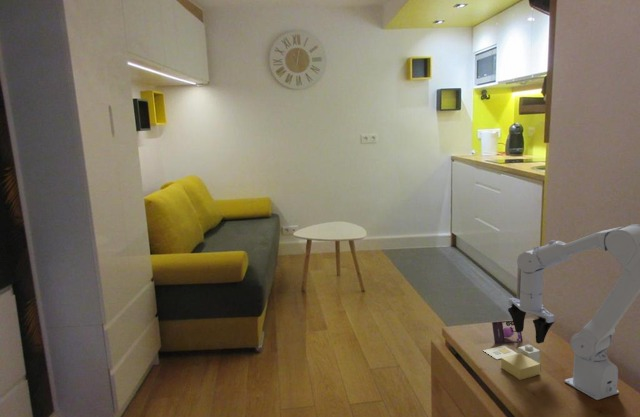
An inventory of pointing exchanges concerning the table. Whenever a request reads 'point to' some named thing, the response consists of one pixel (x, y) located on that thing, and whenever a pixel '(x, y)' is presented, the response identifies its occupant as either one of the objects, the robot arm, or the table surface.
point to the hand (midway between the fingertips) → (529, 336)
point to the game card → (504, 332)
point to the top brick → (530, 352)
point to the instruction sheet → (500, 352)
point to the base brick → (520, 366)
